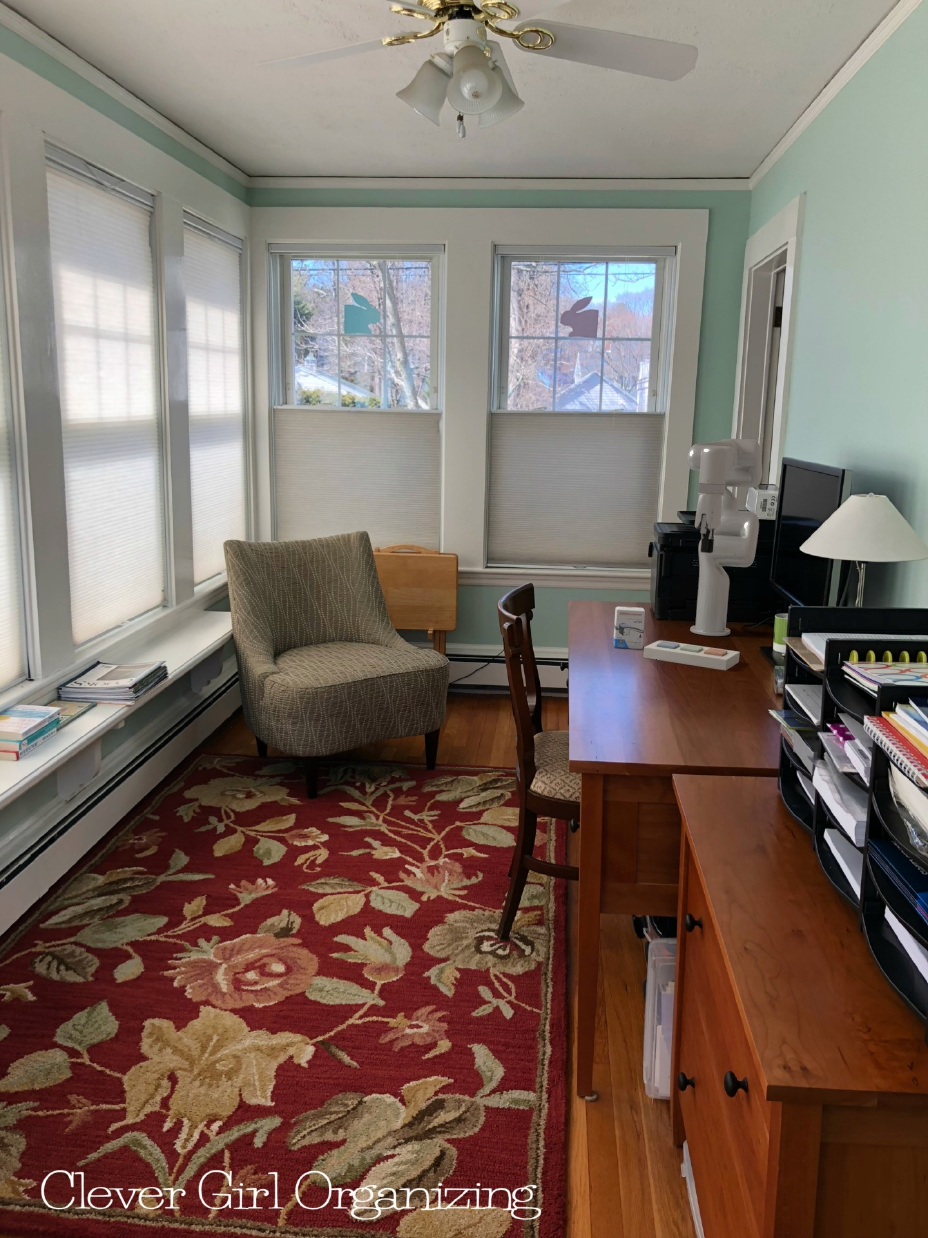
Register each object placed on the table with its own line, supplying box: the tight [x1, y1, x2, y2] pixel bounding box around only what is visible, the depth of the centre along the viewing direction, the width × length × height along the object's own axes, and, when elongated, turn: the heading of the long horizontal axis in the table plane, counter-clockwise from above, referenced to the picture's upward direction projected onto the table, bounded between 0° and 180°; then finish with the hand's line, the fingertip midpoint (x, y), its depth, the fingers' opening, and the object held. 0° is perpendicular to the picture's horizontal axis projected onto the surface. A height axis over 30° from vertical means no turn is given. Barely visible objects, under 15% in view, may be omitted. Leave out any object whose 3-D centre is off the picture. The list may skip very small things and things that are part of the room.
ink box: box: [612, 606, 646, 650], centre depth 290 cm, size 9×5×12 cm, turn 84°
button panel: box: [642, 639, 741, 671], centre depth 276 cm, size 12×24×3 cm, turn 58°
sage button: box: [680, 644, 704, 653], centre depth 276 cm, size 5×5×3 cm
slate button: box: [657, 640, 680, 649], centre depth 280 cm, size 5×5×3 cm
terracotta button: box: [704, 647, 727, 657], centre depth 273 cm, size 5×5×3 cm
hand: (706, 552), depth 286 cm, fingers closed
